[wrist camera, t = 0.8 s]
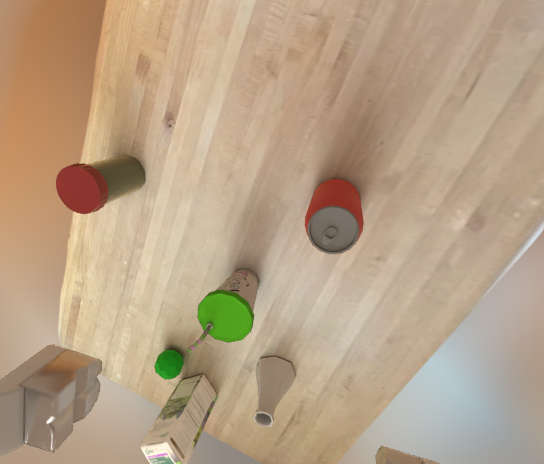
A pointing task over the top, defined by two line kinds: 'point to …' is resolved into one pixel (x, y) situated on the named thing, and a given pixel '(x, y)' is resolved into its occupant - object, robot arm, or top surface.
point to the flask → (271, 387)
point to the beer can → (334, 217)
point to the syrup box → (180, 422)
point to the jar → (121, 175)
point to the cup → (229, 309)
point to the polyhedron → (169, 364)
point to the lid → (82, 188)
